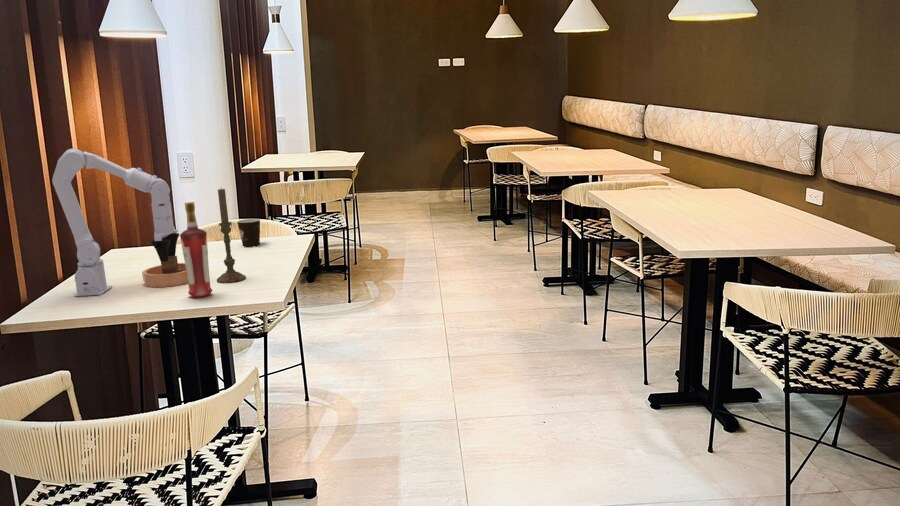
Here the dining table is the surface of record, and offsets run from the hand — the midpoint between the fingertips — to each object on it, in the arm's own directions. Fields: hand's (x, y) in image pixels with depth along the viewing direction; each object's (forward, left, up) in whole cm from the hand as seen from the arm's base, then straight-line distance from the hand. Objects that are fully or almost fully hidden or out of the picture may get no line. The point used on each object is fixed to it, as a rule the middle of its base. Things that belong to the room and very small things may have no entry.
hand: (168, 258), depth 234 cm
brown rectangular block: (0, 0, -6) cm, 6 cm away
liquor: (-21, -15, -8) cm, 27 cm away
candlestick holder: (-3, -20, -8) cm, 22 cm away
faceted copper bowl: (0, 0, -7) cm, 7 cm away
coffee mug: (+50, -16, -8) cm, 53 cm away
